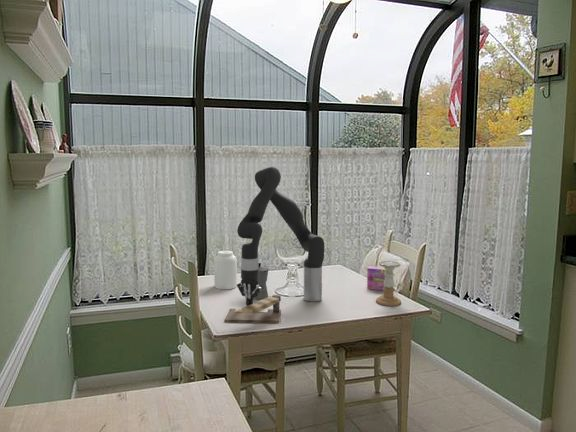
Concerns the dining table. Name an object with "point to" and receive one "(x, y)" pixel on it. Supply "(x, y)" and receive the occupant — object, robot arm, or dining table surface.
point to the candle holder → (388, 285)
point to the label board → (255, 315)
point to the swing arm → (261, 304)
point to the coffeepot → (262, 282)
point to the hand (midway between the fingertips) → (249, 306)
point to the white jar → (225, 270)
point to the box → (375, 277)
